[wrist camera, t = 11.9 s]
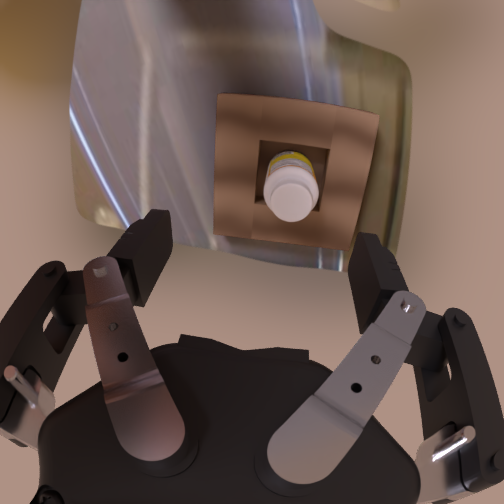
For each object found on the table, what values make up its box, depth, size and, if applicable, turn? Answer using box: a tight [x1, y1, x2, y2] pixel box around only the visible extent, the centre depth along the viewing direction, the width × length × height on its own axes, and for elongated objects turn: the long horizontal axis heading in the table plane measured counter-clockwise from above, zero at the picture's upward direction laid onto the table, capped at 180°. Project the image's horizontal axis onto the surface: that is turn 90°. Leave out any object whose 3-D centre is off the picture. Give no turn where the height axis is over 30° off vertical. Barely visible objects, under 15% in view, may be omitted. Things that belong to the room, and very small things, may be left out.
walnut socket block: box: [213, 93, 380, 251], centre depth 35 cm, size 18×18×3 cm
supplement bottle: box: [264, 150, 319, 222], centre depth 31 cm, size 6×6×10 cm
